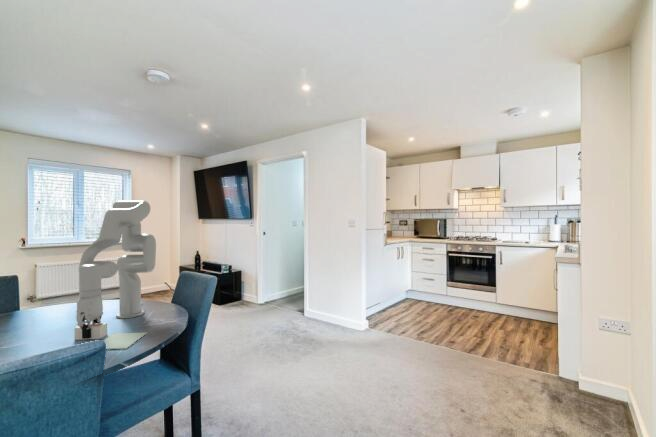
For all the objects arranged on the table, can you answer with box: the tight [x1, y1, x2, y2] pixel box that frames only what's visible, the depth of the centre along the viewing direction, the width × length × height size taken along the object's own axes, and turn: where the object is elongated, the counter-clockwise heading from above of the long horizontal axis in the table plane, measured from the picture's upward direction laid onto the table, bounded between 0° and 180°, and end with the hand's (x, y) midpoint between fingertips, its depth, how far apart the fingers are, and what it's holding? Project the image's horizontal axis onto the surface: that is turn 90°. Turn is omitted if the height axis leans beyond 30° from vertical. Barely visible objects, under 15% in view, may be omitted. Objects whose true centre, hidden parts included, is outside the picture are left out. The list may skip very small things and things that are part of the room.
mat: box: [103, 332, 148, 351], centre depth 129 cm, size 16×14×1 cm
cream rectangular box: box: [73, 322, 108, 341], centre depth 134 cm, size 5×10×5 cm, turn 95°
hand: (91, 335), depth 134 cm, fingers closed on cream rectangular box, 5 cm apart
